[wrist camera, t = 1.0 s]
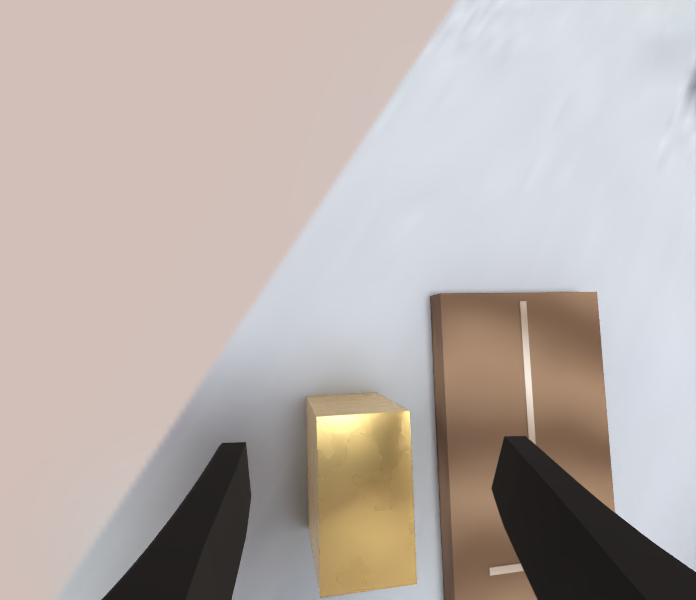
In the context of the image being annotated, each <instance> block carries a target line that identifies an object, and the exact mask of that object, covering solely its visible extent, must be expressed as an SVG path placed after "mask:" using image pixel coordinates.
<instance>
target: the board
mask: <svg viewBox="0 0 696 600" xmlns="http://www.w3.org/2000/svg"><path fill="white" fill-rule="evenodd" d="M430 297H431V319H432V340H433V362H434V384H435V406H436V428H437V450H438V472H439V494H440V515H441V537H442V559H443V581H444V600H537V598H536V596H535V594H534V591H533V589H532V587H531V585H530V583H529V581H528V578H527V576H526V574H525V572H524V570H523V568H522V565H521V563H520V561H519V559H518V557H517V555H516V552H515V550H514V548H513V546H512V544H511V541H510V539H509V537H508V535H507V533H506V530H505V528H504V526H503V523H502V520H501V517H500V514H499V511H498V508H497V505H496V502H495V499H494V495H493V492H492V489H491V487H492V483H493V479H494V475H495V471H496V467H497V463H498V459H499V455H500V451H501V447H502V444H503V440H504V436H526V437H527V438H528V439H530V440H531V441H532V442H533V443H534V444H535V445H537V446H538V447H539V448H540V449H541V450H542V451H543V452H545V453H546V454H547V455H548V456H549V457H550V458H551V459H552V460H554V461H555V462H556V463H557V464H558V465H559V466H560V467H561V468H563V469H564V470H565V471H566V472H567V473H568V474H569V475H571V476H572V477H573V478H574V479H575V480H576V481H577V482H579V483H580V484H581V485H582V486H583V487H584V488H586V489H587V490H588V491H589V492H590V493H592V494H593V495H594V496H595V497H596V498H597V499H599V500H600V501H601V502H602V503H604V504H605V505H606V506H607V507H608V508H610V509H611V510H612V511H613V512H615V508H614V495H613V483H612V471H611V459H610V446H609V434H608V422H607V409H606V397H605V385H604V373H603V360H602V348H601V336H600V324H599V311H598V299H597V292H547V293H451V294H437V295H433V296H430Z"/></svg>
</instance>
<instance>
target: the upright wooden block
mask: <svg viewBox="0 0 696 600" xmlns="http://www.w3.org/2000/svg"><path fill="white" fill-rule="evenodd" d="M306 405H307V460H308V515H309V533H310V539H311V545H312V551H313V557H314V563H315V569H316V575H317V581H318V587H319V593H320V598H321V597H328V596H335V595H343V594H350V593H357V592H364V591H371V590H378V589H385V588H392V587H400V586H407V585H414V584H417V577H416V552H415V527H414V502H413V477H412V453H411V428H410V411H409V410H407V409H405V408H403V407H401V406H400V405H398V404H396V403H394V402H392V401H391V400H389V399H387V398H385V397H383V396H382V395H380V394H378V393H362V394H343V395H324V396H306Z"/></svg>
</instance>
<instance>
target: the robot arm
mask: <svg viewBox="0 0 696 600" xmlns="http://www.w3.org/2000/svg"><path fill="white" fill-rule="evenodd" d="M491 489H492V492H493V495H494V499H495V502H496V505H497V508H498V511H499V514H500V517H501V520H502V523H503V526H504V528H505V530H506V533H507V535H508V537H509V539H510V541H511V544H512V546H513V548H514V550H515V552H516V555H517V557H518V559H519V561H520V563H521V565H522V568H523V570H524V572H525V574H526V576H527V578H528V581H529V583H530V585H531V587H532V589H533V591H534V594H535V596H536V598H537V600H696V572H695V571H693V570H692V569H690V568H689V567H687V566H686V565H685V564H683V563H682V562H680V561H679V560H677V559H676V558H675V557H673V556H672V555H670V554H669V553H668V552H666V551H665V550H663V549H662V548H660V547H659V546H658V545H656V544H655V543H653V542H652V541H651V540H649V539H648V538H647V537H645V536H644V535H643V534H641V533H640V532H639V531H638V530H636V529H635V528H634V527H632V526H631V525H630V524H629V523H627V522H626V521H625V520H623V519H622V518H621V517H620V516H618V515H617V514H616V513H615V512H613V511H612V510H611V509H610V508H608V507H607V506H606V505H605V504H604V503H602V502H601V501H600V500H599V499H597V498H596V497H595V496H594V495H593V494H592V493H590V492H589V491H588V490H587V489H586V488H584V487H583V486H582V485H581V484H580V483H579V482H577V481H576V480H575V479H574V478H573V477H572V476H571V475H569V474H568V473H567V472H566V471H565V470H564V469H563V468H561V467H560V466H559V465H558V464H557V463H556V462H555V461H554V460H552V459H551V458H550V457H549V456H548V455H547V454H546V453H545V452H543V451H542V450H541V449H540V448H539V447H538V446H537V445H535V444H534V443H533V442H532V441H531V440H530V439H528V438H527V437H526V436H504V440H503V444H502V447H501V451H500V455H499V459H498V463H497V467H496V471H495V475H494V479H493V483H492V487H491ZM250 501H251V490H250V480H249V470H248V459H247V449H246V442H237V443H222V444H221V445H220V446H219V447H218V449H217V451H216V452H215V454H214V456H213V457H212V459H211V461H210V462H209V464H208V465H207V467H206V468H205V470H204V472H203V473H202V475H201V476H200V478H199V479H198V481H197V482H196V484H195V485H194V487H193V488H192V489H191V491H190V492H189V494H188V495H187V496H186V498H185V499H184V501H183V502H182V503H181V505H180V506H179V508H178V509H177V510H176V512H175V513H174V514H173V516H172V517H171V518H170V520H169V521H168V522H167V524H166V525H165V526H164V527H163V529H162V530H161V531H160V532H159V534H158V535H157V536H156V538H155V539H154V540H153V541H152V543H151V544H150V545H149V546H148V548H147V549H146V550H145V551H144V553H143V554H142V555H141V556H140V557H139V558H138V560H137V561H136V562H135V563H134V564H133V565H132V567H131V568H130V569H129V570H128V571H127V572H126V574H125V575H124V576H123V577H122V578H121V579H120V580H119V581H118V582H117V584H116V585H115V586H114V587H113V588H112V589H111V590H110V591H109V592H108V593H107V595H106V596H105V597H104V598H103V599H102V600H231V599H232V594H233V590H234V586H235V582H236V577H237V573H238V569H239V564H240V560H241V556H242V551H243V547H244V542H245V538H246V532H247V524H248V517H249V509H250Z"/></svg>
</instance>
